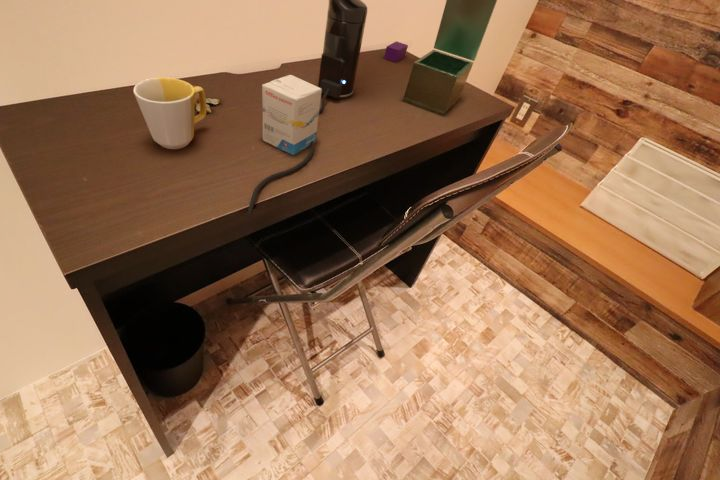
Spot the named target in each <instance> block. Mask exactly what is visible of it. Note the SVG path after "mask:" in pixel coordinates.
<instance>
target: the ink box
mask: <svg viewBox="0 0 720 480" xmlns="http://www.w3.org/2000/svg"><path fill="white" fill-rule="evenodd" d="M321 92H322V89H321V88H319V87H318V85H314V84H312V83H310V82H308V81H306V80H304V79H301V78H299V77H297V76H295V75H292V74H287V75H285V76H282V77H278V78H276V79H272V80H271V81H269V82H265V83H263V84H261V100H262V101H261V102H262V103H261V107H262V112H261V113H262V141H263V142H265V143H267V144H269V145H271V146H273V147H275V148H277V149H279V150H281V151H283V152H285V153H287V154H289V155H291V156H295V155H297V154H298V153H300V152H302V151H303V150H305V149H307V148H309V147H311V145H310V143H311V142H312V141H313V142H314V144H315V143H316V142H317V133H318V126H319V125H318V124H319V116H320V113H319V109H320V108H321V102H322V94H321Z"/></svg>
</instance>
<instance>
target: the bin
mask: <svg viewBox="0 0 720 480" xmlns="http://www.w3.org/2000/svg"><path fill="white" fill-rule="evenodd" d="M473 65H474V61H471V60H469V59H465V58H462V57H459V56H456V55H453V54H450V53H447V52H444V51H441V50H437V49H432V50H430V51H429V52H427V53H426V54H425V55H423V56H422V57H421V56H420V57H419V58H418V59H416V60H415V61H414V62H413V64H412V67H411V71H410V73H409V74H410V75H409V78H408V80H407V81H408V82H407V85H406V89H405V92H404V94H403V95H404V96H403V99H402V102H404V103H408V104H410V105H413V106H416V107H418V108H421V109H423V110H426V111H429V112H432V113H433V114H434V113H435V114H437V115H440V116H445V114H446V113H447V112H448V111H449V110H451V108H452V107H453V106H454V105H455V104H456V103H457V102H458V101H459V100H460V98H461V96H462V92H463V90H464V88H465V85H466V83H467V80H468V77H469V75H470V72H471V70H472V68H473Z"/></svg>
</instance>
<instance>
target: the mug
mask: <svg viewBox="0 0 720 480" xmlns="http://www.w3.org/2000/svg"><path fill="white" fill-rule="evenodd" d="M192 85H193V84H191V83H190V82H187V81H185V80H182V79H179V78H175V77H166V76H165V77H161V76H160V77H151V78H147V79H143V80H141V81H139V82H138V83H136V84H135V85H134V87H133V91H132V92H133V94H134V97H135V99H136V102H137V104H138V107H139V109H140V112H141V114H142V116H143V118H144V122H145V123H146V126H147V129H148V130H149V134H150V135H151V139H152V140H153V141H154V142H155V143H157V144H158V145H160V147H162V148H164V149H169V150H179V149H184V148H185V147H187V146H188V145H189V144H190V143H191V141H192V140H193V139H194V137H195V125H196V124H198V123H199V122H202V120H204V119H205V118H206V116H207V113H206V104H207V103H206V98H207V97H206V93H205V90H204V88H203V87H201V86H199V85H198V86H197V85H195V86H196V87H193V86H192ZM196 93H199V99H200V112H198V114H197V115H195V108H196V106H195V94H196Z"/></svg>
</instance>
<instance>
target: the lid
mask: <svg viewBox="0 0 720 480" xmlns="http://www.w3.org/2000/svg"><path fill="white" fill-rule="evenodd" d="M497 2H498V0H445V4H444V8H443V12H442V14H441V15H442V16H441V19H440V23H439V27H438V29H437V30H438V31H437V34H436V37H435V40H434V41H435V42H434V45H433V49H434V50H437V51H440V52H443V53H446V54H449V55H452V56H456V57H459V58H462V59H465V60H468V61H471V62H475V61H476V59H477V56H478V53H479V50H480V47H481V45H482V43H483V39H484V36H485V34H486V32H487V29H488V26H489V24H490V22H491V21H490V20H491V18H492V15H493V13H494V10H495V8H496V4H497Z"/></svg>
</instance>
